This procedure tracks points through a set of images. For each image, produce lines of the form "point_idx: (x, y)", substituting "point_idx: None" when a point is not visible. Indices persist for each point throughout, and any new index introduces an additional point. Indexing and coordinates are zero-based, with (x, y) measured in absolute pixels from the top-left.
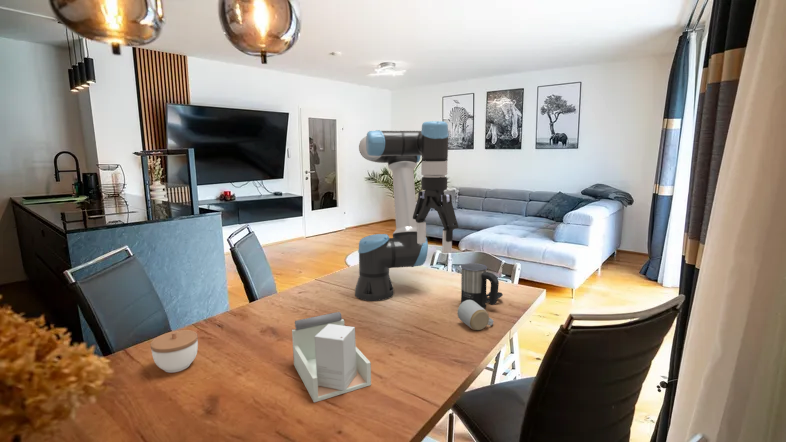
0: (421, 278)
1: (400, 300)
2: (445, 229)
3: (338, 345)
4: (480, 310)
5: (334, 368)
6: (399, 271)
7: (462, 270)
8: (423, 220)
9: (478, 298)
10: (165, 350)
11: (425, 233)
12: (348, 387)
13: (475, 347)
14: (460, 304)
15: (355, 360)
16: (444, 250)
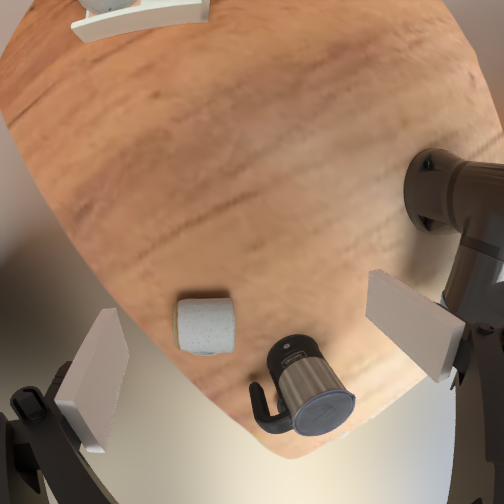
0: None
1: (388, 227)
2: (16, 398)
3: None
4: (176, 337)
5: None
6: None
7: (331, 386)
8: (458, 376)
9: (275, 371)
10: None
11: (394, 340)
12: (89, 12)
13: (118, 268)
14: (233, 316)
15: (102, 10)
16: (98, 319)
